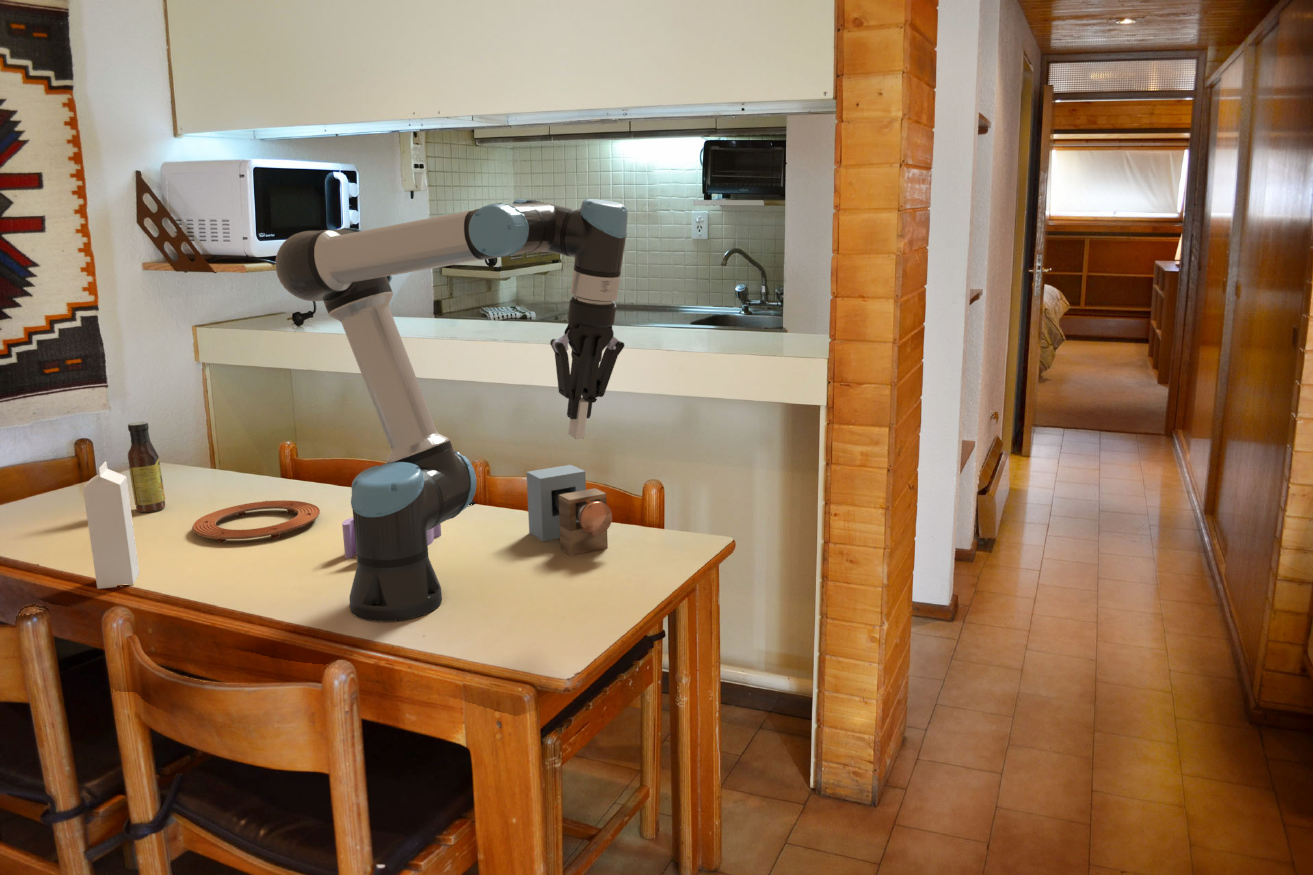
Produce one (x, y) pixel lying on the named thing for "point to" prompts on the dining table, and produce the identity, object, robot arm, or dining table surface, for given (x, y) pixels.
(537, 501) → the socket block
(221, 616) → the dining table surface
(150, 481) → the sauce bottle
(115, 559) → the milk
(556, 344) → the robot arm
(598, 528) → the pin
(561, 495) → the sleeve
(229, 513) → the ring
